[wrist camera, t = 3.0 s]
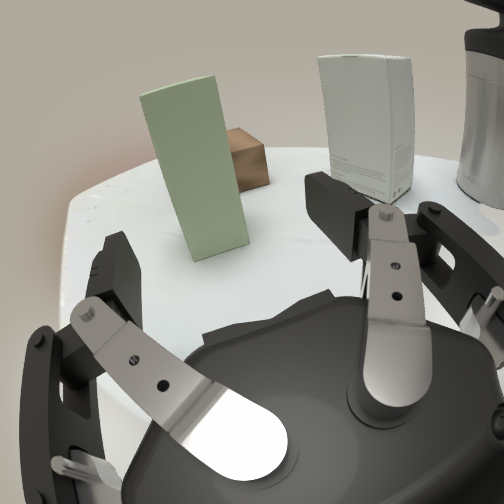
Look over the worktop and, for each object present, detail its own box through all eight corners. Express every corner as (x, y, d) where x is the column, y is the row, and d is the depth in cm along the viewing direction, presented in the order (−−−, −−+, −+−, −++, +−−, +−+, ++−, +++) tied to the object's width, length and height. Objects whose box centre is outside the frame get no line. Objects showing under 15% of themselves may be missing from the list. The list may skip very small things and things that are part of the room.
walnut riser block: (245, 159, 40) (239, 127, 36) (269, 183, 32) (263, 144, 29) (179, 178, 38) (170, 146, 35) (186, 209, 30) (173, 169, 27)
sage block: (234, 215, 28) (203, 76, 19) (249, 243, 24) (214, 75, 15) (186, 231, 27) (143, 93, 18) (194, 261, 23) (139, 96, 14)
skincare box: (411, 188, 27) (417, 59, 18) (387, 208, 25) (391, 55, 15) (354, 166, 33) (349, 52, 23) (325, 182, 30) (315, 52, 21)
